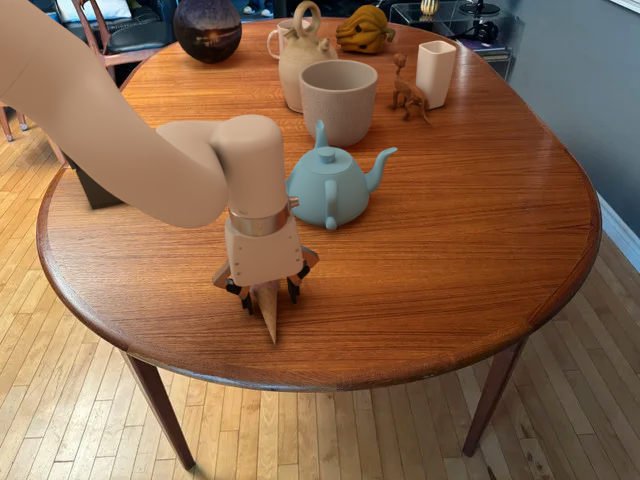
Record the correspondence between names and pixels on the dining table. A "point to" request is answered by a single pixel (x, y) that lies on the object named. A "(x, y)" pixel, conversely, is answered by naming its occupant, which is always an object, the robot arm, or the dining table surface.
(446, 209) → the dining table surface
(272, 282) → the ice cream cone
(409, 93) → the cat figurine
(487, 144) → the dining table surface
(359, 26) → the fruit
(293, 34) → the jug
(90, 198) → the bin
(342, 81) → the planter
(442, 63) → the cup
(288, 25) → the mug
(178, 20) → the decorative sphere
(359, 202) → the teapot
